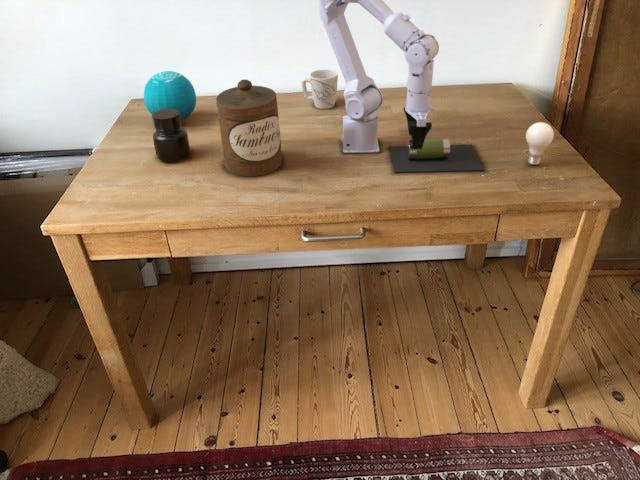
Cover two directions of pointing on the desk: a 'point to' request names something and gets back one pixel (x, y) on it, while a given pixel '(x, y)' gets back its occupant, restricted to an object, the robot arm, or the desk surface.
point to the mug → (322, 88)
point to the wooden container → (249, 129)
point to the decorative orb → (170, 93)
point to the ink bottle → (170, 136)
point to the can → (430, 149)
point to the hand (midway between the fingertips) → (415, 141)
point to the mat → (437, 161)
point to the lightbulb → (538, 140)
